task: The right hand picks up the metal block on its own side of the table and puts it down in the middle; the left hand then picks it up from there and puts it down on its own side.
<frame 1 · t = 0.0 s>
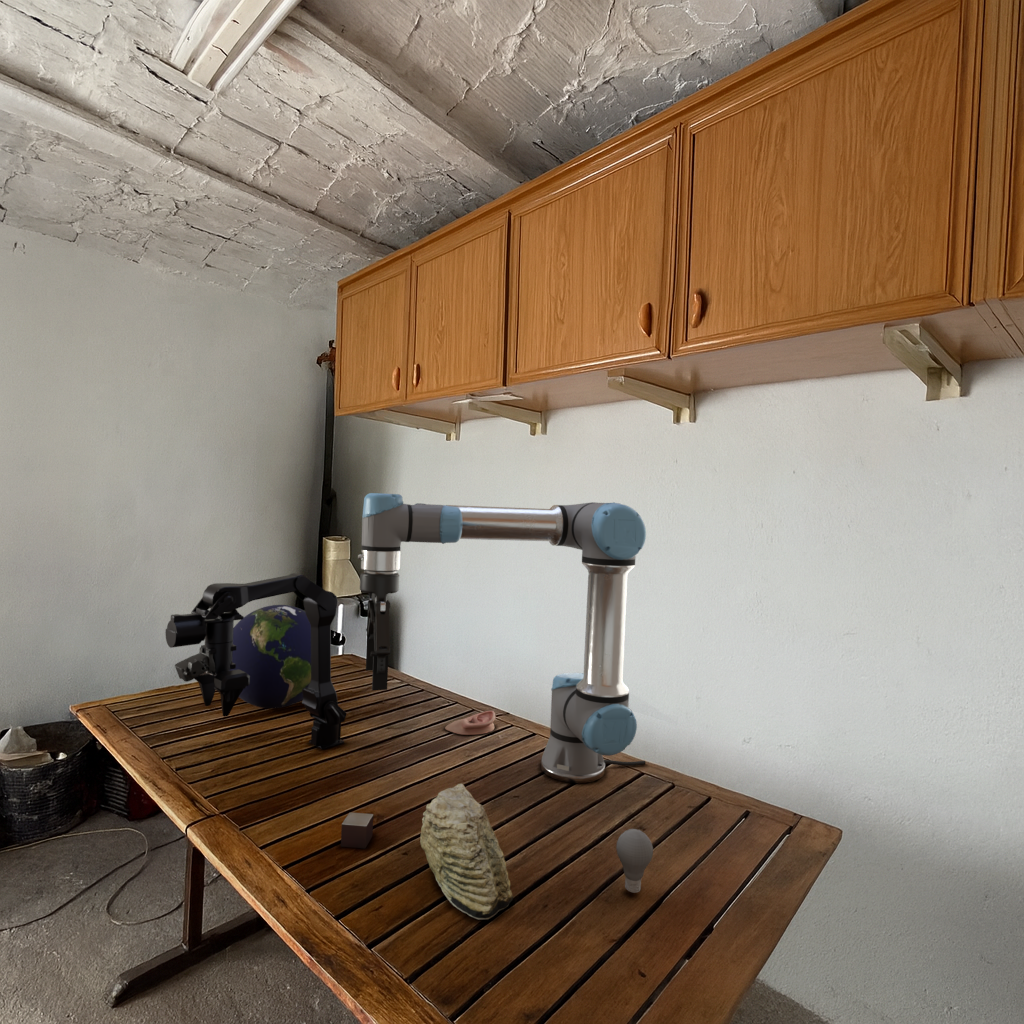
left hand: (216, 710, 141), 15 cm above the table, tool pointing down, fingers open, 9 cm apart
right hand: (375, 679, 125), 28 cm above the table, tool pointing down, fingers open, 13 cm apart
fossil: (462, 888, 104), on the table
block: (356, 841, 117), on the table
light bulb: (632, 891, 106), on the table
globe: (275, 706, 188), on the table
anatomical model: (470, 728, 177), on the table
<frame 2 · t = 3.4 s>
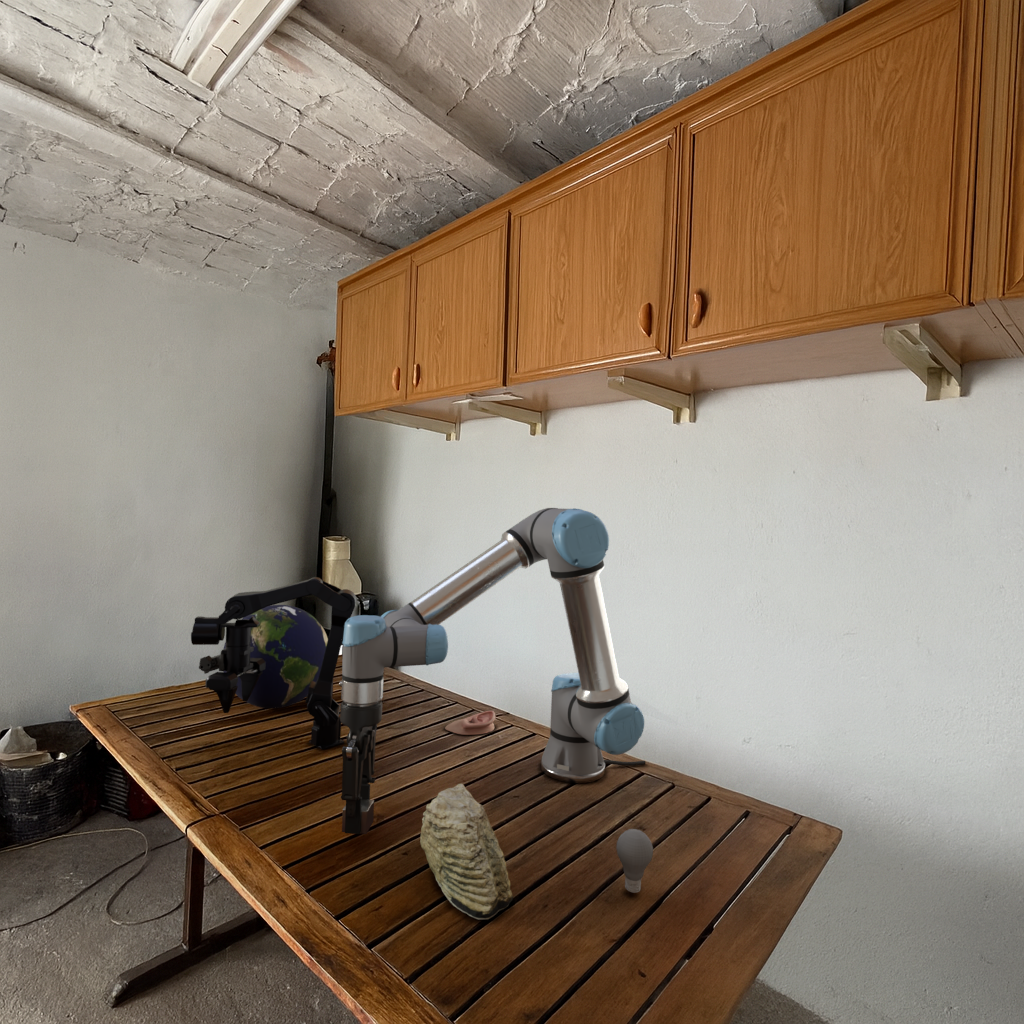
left hand: (235, 706, 158), 10 cm above the table, tool pointing down, fingers open, 9 cm apart
right hand: (357, 825, 117), 3 cm above the table, tool pointing down, fingers closed on block, 4 cm apart
block: (357, 827, 117), point 3 cm above the table, touching right hand
everything else where it was.
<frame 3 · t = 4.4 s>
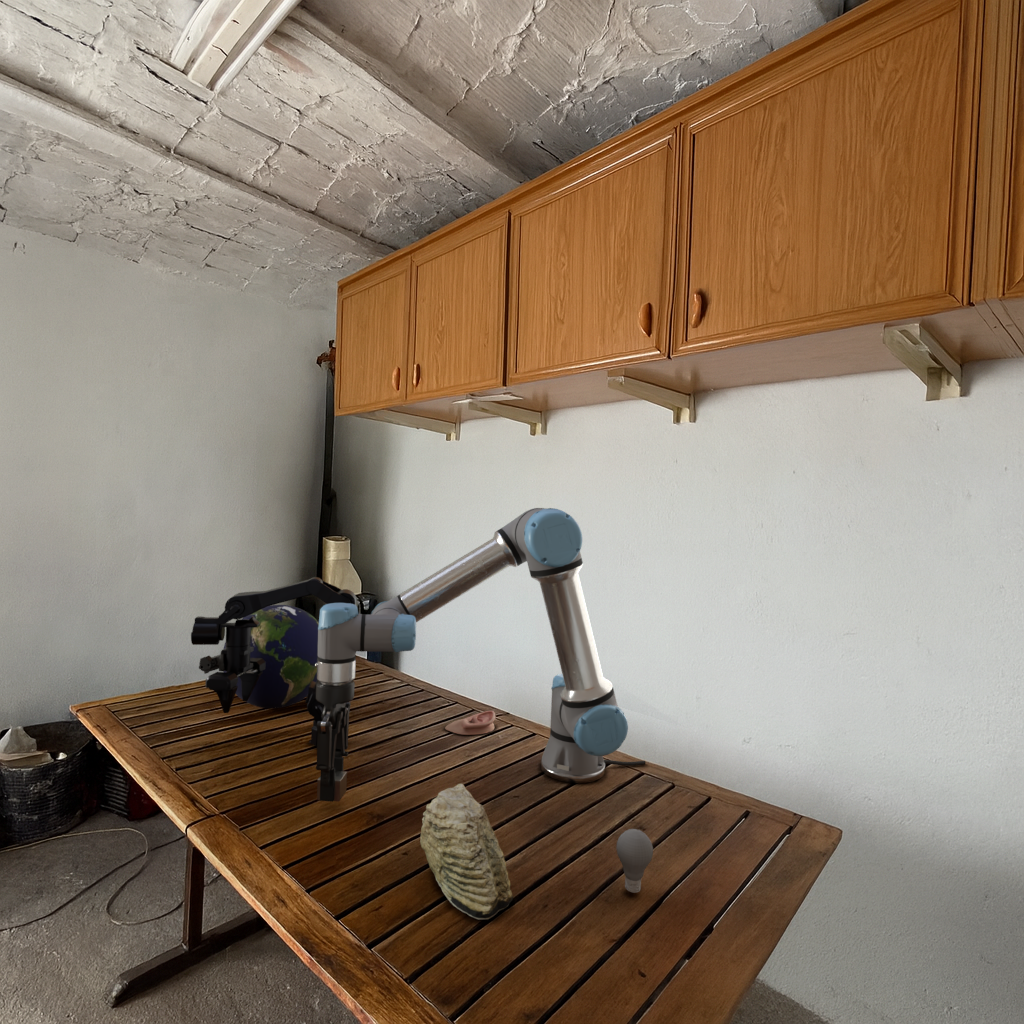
left hand: (235, 706, 158), 10 cm above the table, tool pointing down, fingers open, 9 cm apart
right hand: (331, 794, 129), 3 cm above the table, tool pointing down, fingers closed on block, 4 cm apart
block: (331, 795, 129), point 3 cm above the table, touching right hand
everything else where it was.
when the right hand's fingers open (0 cm above the table, at t = 5.6 s): block stays where it is, on the table.
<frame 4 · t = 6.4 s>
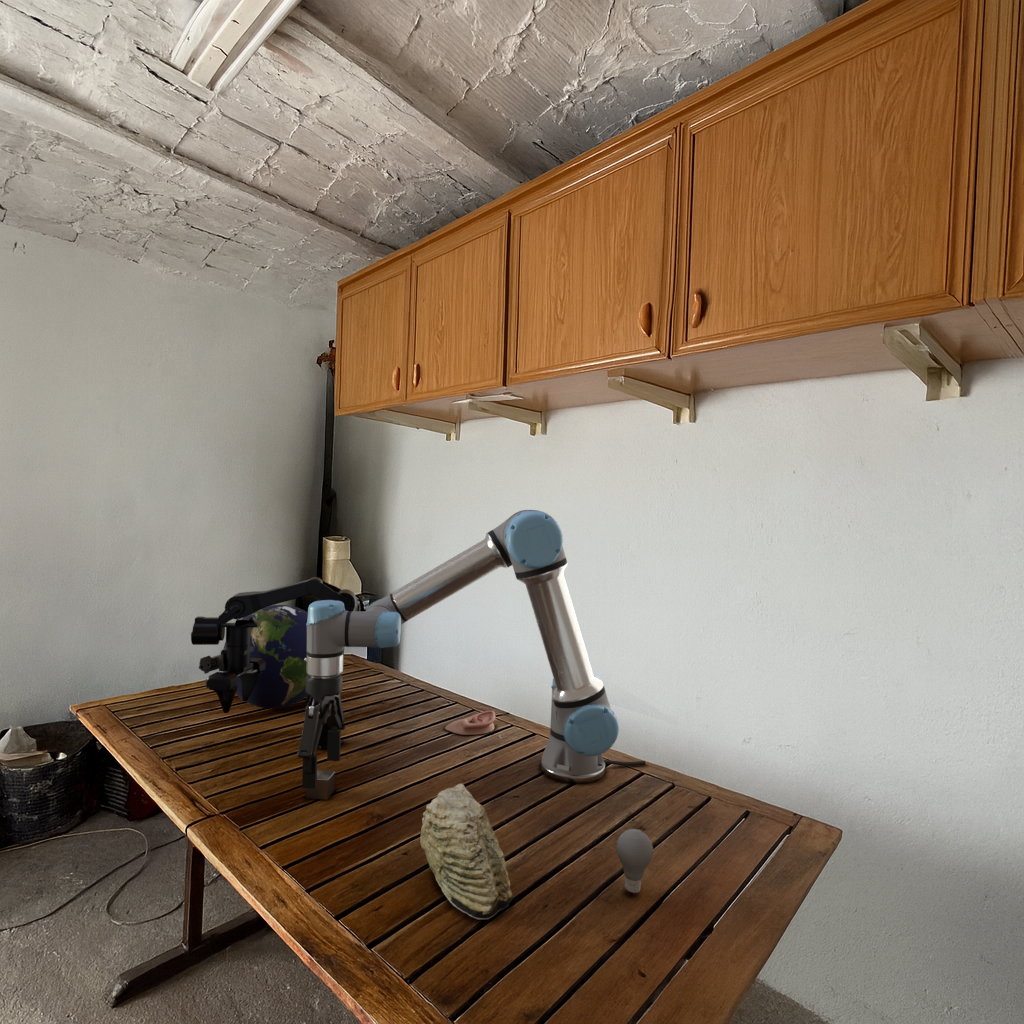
left hand: (235, 706, 158), 10 cm above the table, tool pointing down, fingers open, 9 cm apart
right hand: (322, 773, 135), 4 cm above the table, tool pointing down, fingers open, 13 cm apart
block: (320, 794, 135), on the table
everything else where it was.
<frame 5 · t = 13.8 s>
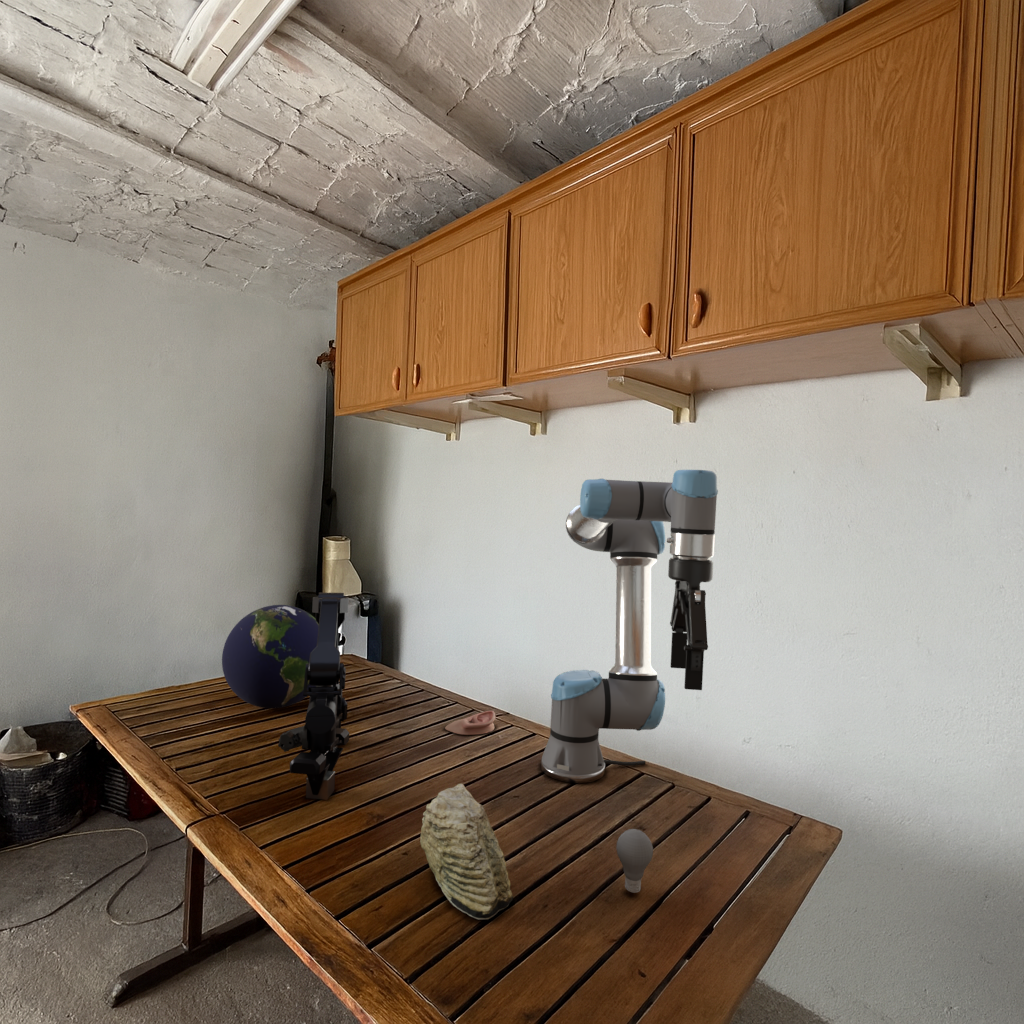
left hand: (319, 789, 135), 1 cm above the table, tool pointing down, fingers closed on block, 4 cm apart
right hand: (685, 678, 112), 34 cm above the table, tool pointing down, fingers open, 13 cm apart
block: (320, 794, 135), on the table, touching left hand
everything else where it was.
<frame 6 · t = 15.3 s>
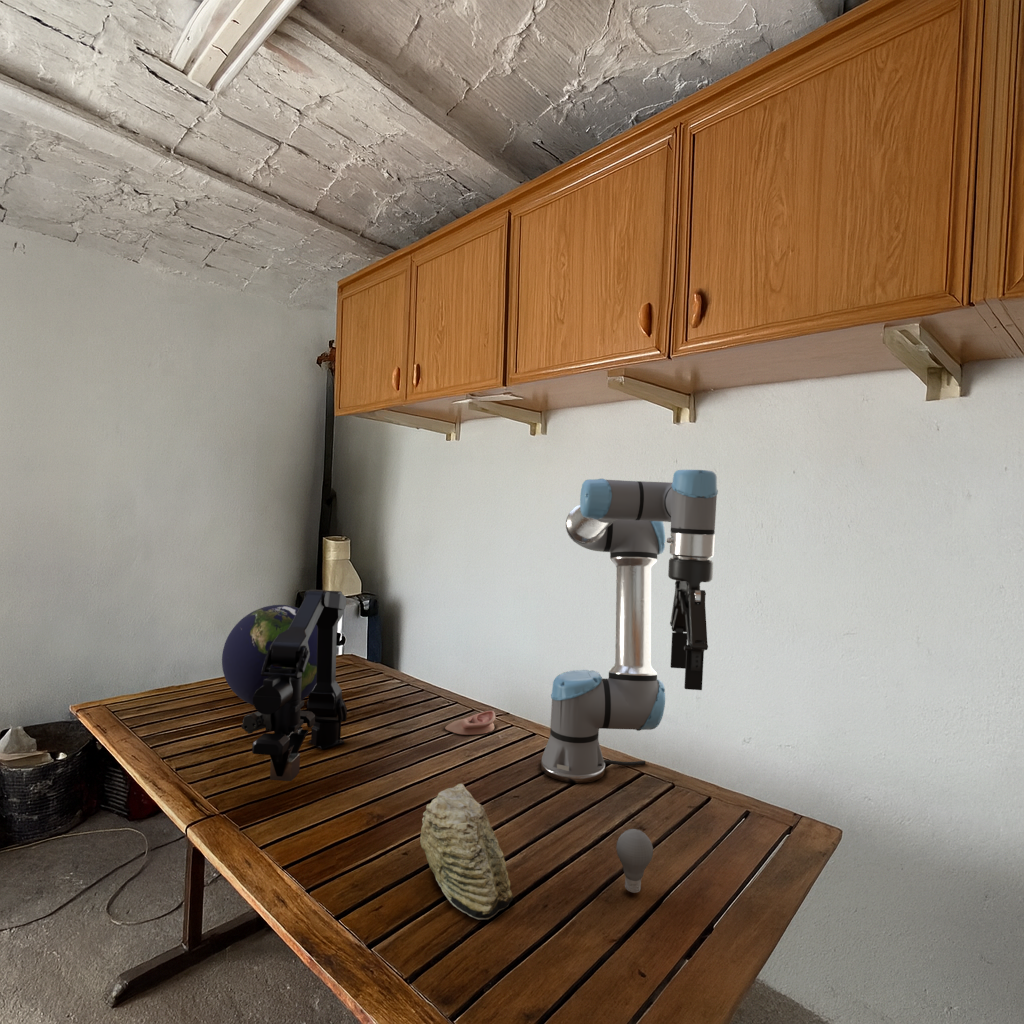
left hand: (284, 771, 135), 5 cm above the table, tool pointing down, fingers closed on block, 4 cm apart
right hand: (685, 678, 112), 34 cm above the table, tool pointing down, fingers open, 13 cm apart
block: (284, 776, 135), point 4 cm above the table, touching left hand
everything else where it was.
when the left hand's fingers open (2 cm above the table, at t = 16.7 s): block stays where it is, on the table.
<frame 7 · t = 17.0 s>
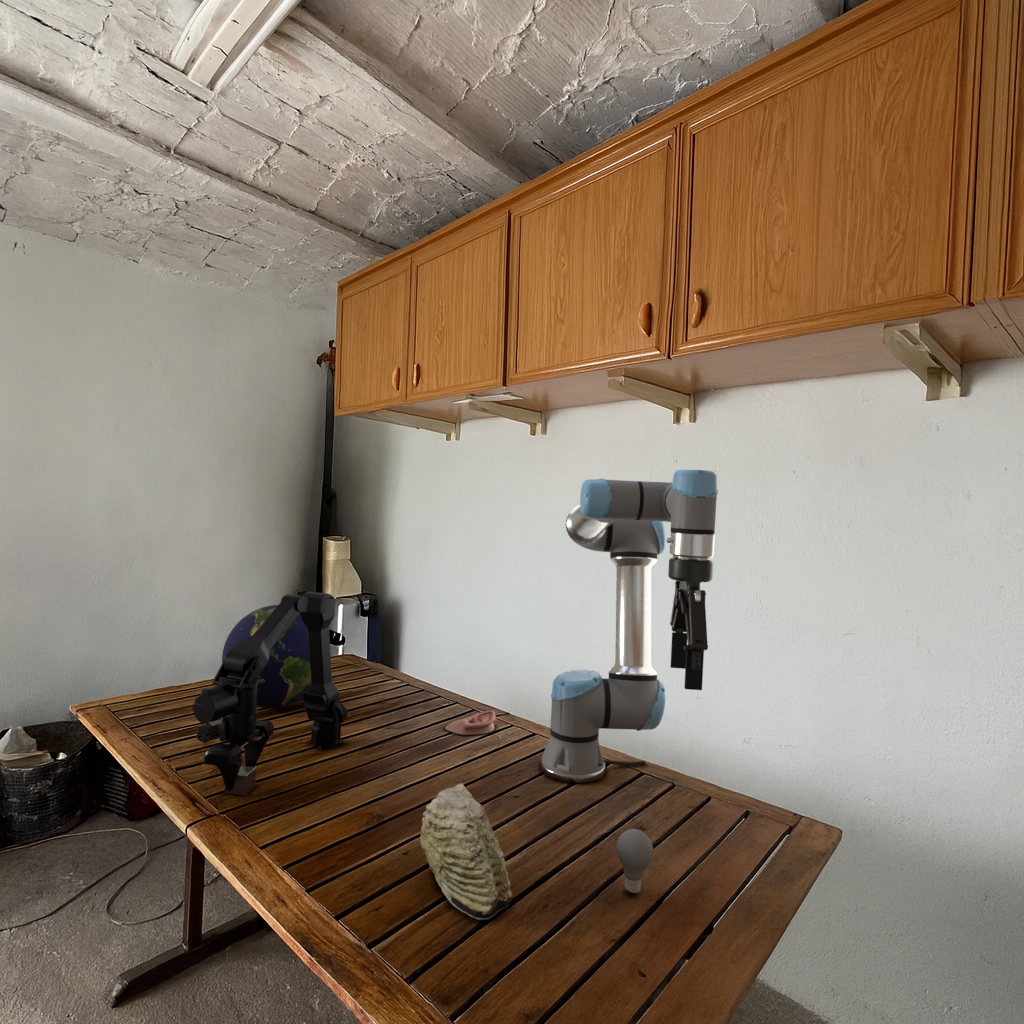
left hand: (239, 781, 135), 2 cm above the table, tool pointing down, fingers open, 8 cm apart
right hand: (685, 678, 112), 34 cm above the table, tool pointing down, fingers open, 13 cm apart
block: (240, 790, 135), on the table
everything else where it was.
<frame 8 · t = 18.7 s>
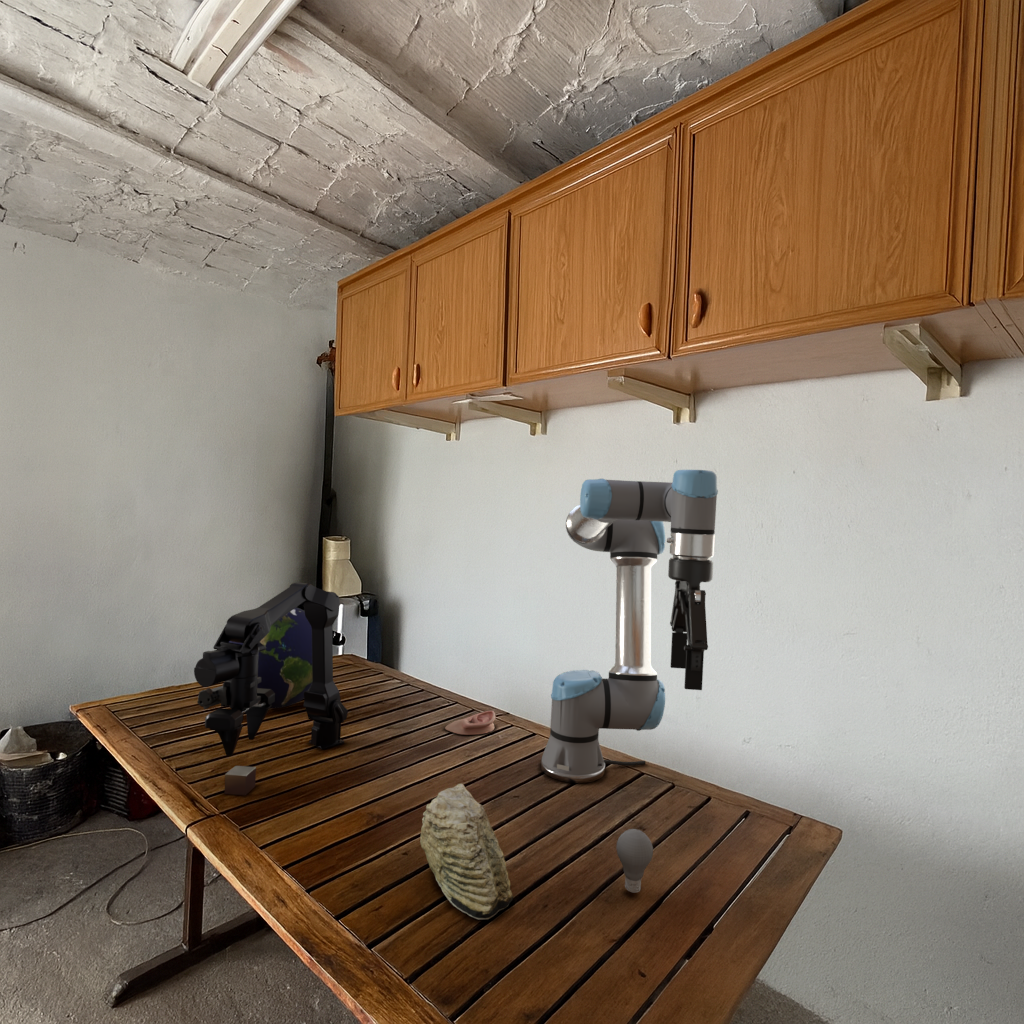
left hand: (240, 747, 135), 9 cm above the table, tool pointing down, fingers open, 9 cm apart
right hand: (685, 678, 112), 34 cm above the table, tool pointing down, fingers open, 13 cm apart
nothing on the table moved.
at the end: block inside the target area (0.2 cm from its centre), on the table; block tilted 0°; the two hands never held the block at the same time; the left hand is holding nothing; the right hand is holding nothing; block at rest at the end (0.0 cm/s) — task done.
